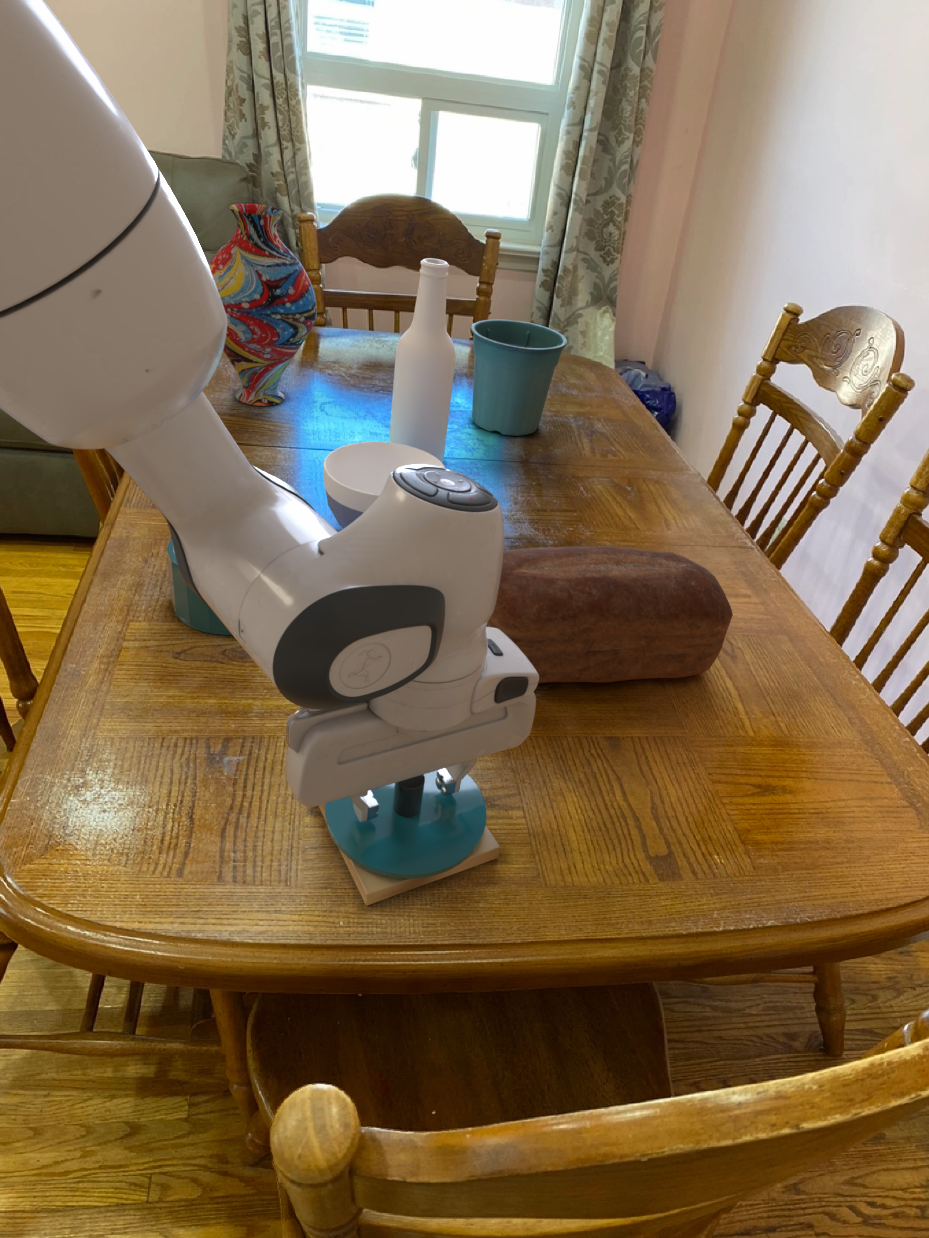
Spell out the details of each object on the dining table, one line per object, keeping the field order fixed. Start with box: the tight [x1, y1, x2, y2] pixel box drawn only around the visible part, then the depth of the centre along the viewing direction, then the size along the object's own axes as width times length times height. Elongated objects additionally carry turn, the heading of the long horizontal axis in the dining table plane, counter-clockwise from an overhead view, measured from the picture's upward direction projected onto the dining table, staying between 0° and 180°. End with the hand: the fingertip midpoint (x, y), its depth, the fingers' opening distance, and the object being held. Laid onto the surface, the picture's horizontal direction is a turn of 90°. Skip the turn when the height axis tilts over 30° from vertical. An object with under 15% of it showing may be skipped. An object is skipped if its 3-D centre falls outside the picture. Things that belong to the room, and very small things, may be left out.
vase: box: [208, 203, 318, 407], centre depth 135 cm, size 19×19×30 cm
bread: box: [486, 545, 734, 685], centre depth 91 cm, size 14×28×12 cm, turn 102°
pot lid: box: [324, 770, 488, 879], centre depth 68 cm, size 14×14×5 cm
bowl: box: [322, 441, 446, 530], centre depth 108 cm, size 16×16×10 cm
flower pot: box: [470, 319, 568, 437], centre depth 143 cm, size 16×16×16 cm
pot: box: [166, 536, 233, 636], centre depth 92 cm, size 12×12×8 cm
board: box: [318, 804, 501, 906], centre depth 70 cm, size 12×12×2 cm
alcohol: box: [388, 257, 457, 463], centre depth 122 cm, size 9×9×30 cm
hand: (407, 801), depth 69 cm, fingers open, 6 cm apart
